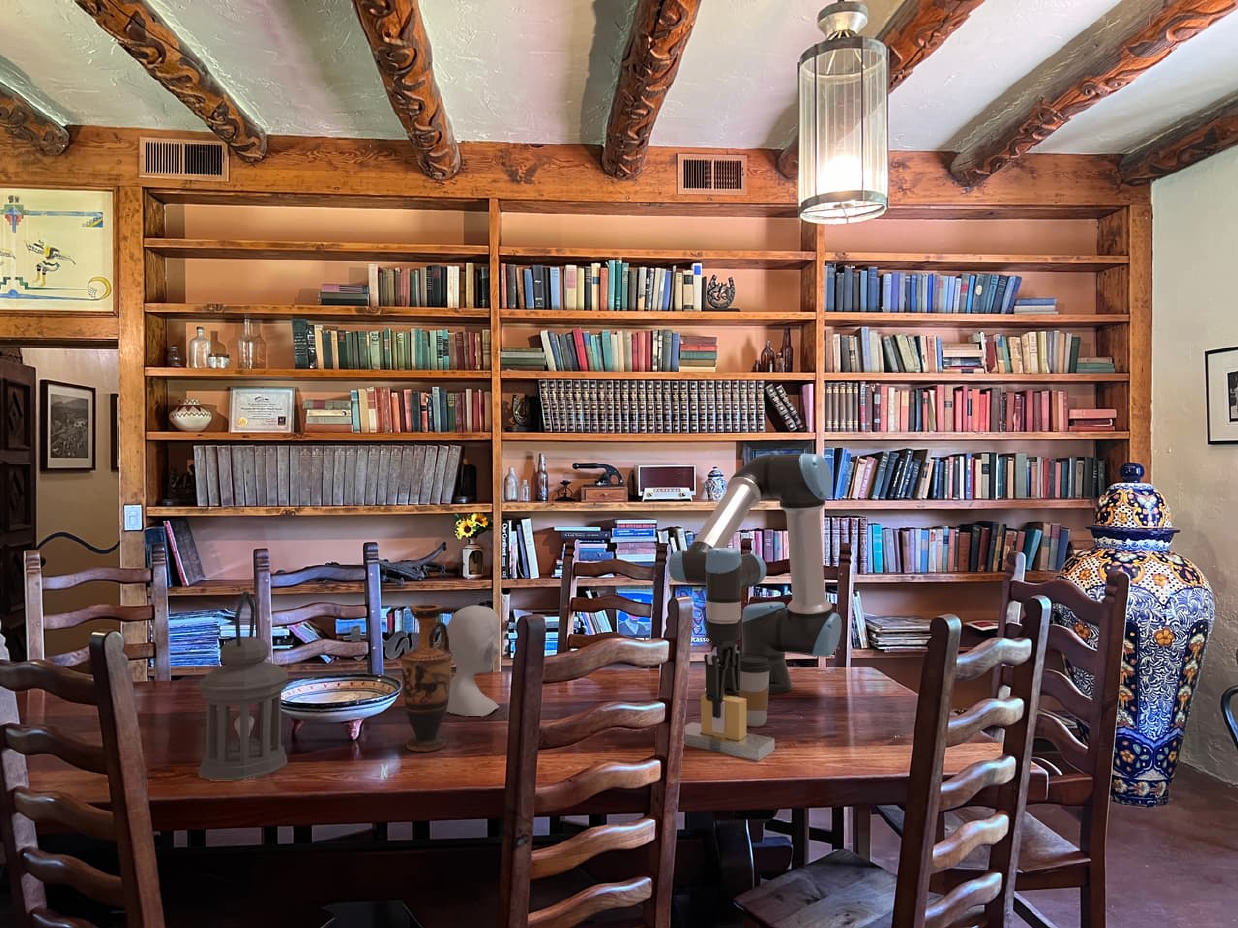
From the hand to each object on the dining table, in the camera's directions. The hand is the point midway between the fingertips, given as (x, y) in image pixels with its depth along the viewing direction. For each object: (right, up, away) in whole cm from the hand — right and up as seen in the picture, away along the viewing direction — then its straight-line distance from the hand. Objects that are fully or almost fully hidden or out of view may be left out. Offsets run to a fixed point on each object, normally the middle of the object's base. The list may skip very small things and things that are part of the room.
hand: (723, 728), depth 172 cm
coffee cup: (+9, -4, +17) cm, 20 cm away
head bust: (-60, -5, +32) cm, 68 cm away
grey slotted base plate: (0, -4, 0) cm, 4 cm away
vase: (-64, -4, 0) cm, 64 cm away
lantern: (-98, -4, -12) cm, 99 cm away
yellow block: (0, -3, 0) cm, 3 cm away
